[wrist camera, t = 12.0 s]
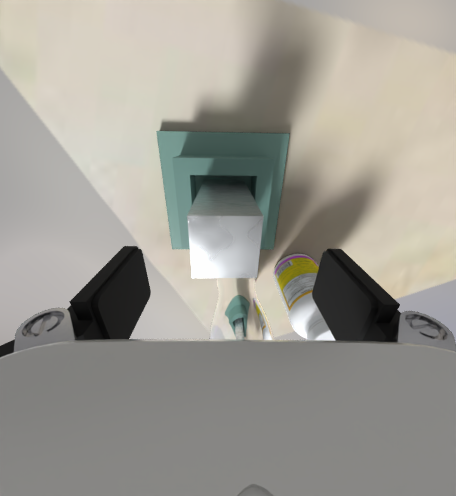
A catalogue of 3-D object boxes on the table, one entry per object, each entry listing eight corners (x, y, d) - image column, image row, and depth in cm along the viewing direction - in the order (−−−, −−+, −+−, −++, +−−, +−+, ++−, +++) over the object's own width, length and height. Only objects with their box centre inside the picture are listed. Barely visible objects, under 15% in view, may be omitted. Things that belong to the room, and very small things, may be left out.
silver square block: (243, 179, 23) (263, 216, 12) (241, 216, 25) (256, 277, 14) (204, 179, 23) (186, 215, 12) (206, 216, 25) (192, 277, 14)
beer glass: (223, 254, 29) (224, 348, 16) (265, 269, 31) (298, 367, 17) (207, 289, 32) (196, 392, 19) (245, 301, 33) (261, 405, 20)
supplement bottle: (313, 285, 32) (362, 363, 21) (272, 289, 32) (298, 368, 21) (317, 249, 29) (378, 317, 18) (272, 253, 29) (304, 324, 18)
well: (286, 133, 22) (303, 131, 18) (271, 246, 29) (280, 265, 24) (159, 131, 22) (142, 128, 17) (173, 245, 28) (164, 265, 24)
